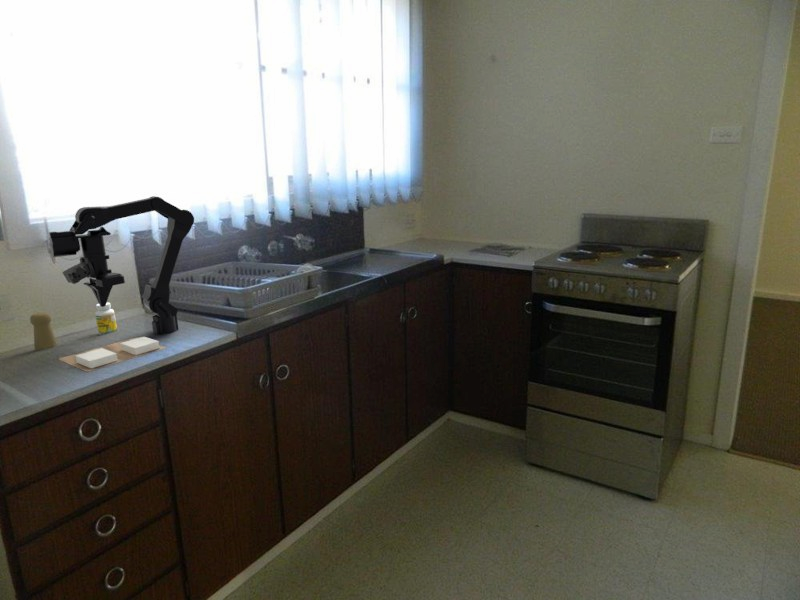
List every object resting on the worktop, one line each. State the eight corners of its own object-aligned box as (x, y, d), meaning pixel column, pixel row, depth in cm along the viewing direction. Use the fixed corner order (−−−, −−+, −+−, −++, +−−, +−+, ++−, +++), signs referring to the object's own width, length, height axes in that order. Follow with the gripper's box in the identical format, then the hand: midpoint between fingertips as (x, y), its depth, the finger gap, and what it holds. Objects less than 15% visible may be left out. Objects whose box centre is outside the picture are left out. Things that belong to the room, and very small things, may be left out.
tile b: (102, 348, 160) (116, 353, 155) (103, 355, 160) (117, 361, 155) (75, 355, 154) (89, 361, 149) (76, 363, 155) (91, 369, 150)
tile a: (143, 336, 169) (158, 341, 164) (144, 343, 169) (159, 348, 164) (120, 343, 163) (134, 348, 159) (121, 350, 164) (135, 355, 159)
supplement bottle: (121, 330, 186) (116, 301, 184) (111, 336, 181) (107, 306, 179) (104, 331, 187) (99, 301, 184) (95, 336, 181) (90, 306, 179)
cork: (62, 345, 173) (56, 309, 170) (51, 352, 167) (44, 315, 165) (41, 346, 173) (34, 310, 170) (30, 353, 167) (22, 316, 164)
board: (135, 340, 175) (135, 337, 175) (167, 350, 165) (166, 347, 165) (58, 362, 159) (57, 358, 159) (87, 375, 149) (86, 371, 148)
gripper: (49, 254, 164) (59, 308, 168) (79, 260, 153) (89, 317, 157) (89, 248, 172) (98, 299, 176) (121, 253, 161) (129, 308, 165)
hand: (102, 306), depth 168 cm, fingers closed
